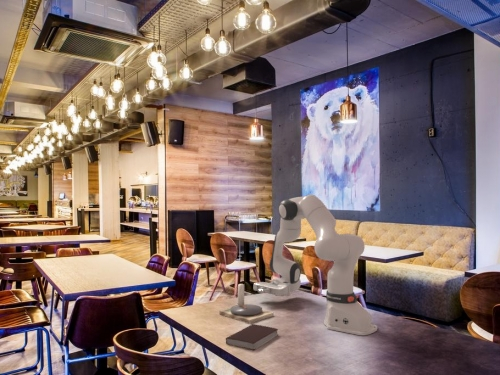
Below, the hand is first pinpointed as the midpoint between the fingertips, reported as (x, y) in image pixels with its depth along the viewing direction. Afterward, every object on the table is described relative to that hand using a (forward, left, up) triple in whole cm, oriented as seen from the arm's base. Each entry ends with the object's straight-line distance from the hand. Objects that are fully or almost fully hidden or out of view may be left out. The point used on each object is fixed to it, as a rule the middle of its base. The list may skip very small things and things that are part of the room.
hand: (260, 291), depth 197 cm
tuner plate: (-6, +16, -8) cm, 19 cm away
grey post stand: (-5, +16, -6) cm, 17 cm away
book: (-30, +36, -8) cm, 48 cm away
